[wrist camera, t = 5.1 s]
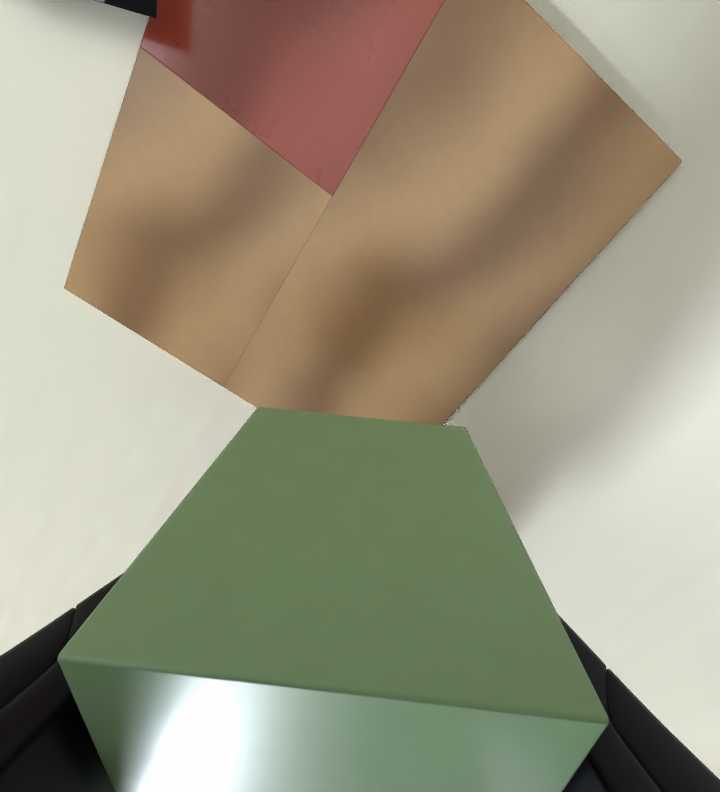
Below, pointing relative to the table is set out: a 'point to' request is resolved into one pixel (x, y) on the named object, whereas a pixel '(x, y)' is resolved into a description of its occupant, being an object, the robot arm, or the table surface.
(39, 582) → the table surface
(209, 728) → the green nearly cubic block
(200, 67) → the brown red square board
